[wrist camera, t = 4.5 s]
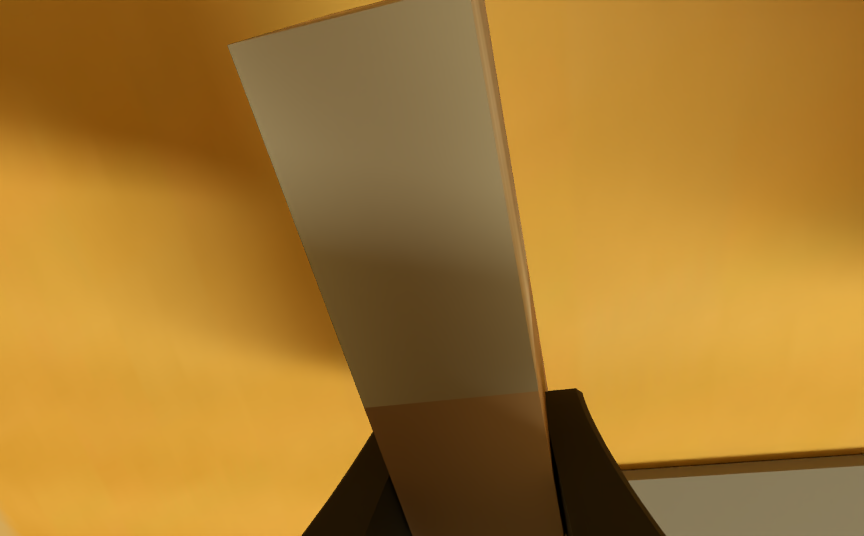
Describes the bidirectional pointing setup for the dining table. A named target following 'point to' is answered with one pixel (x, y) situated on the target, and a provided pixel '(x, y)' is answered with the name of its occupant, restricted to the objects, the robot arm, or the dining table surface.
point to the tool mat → (756, 497)
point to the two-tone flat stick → (417, 250)
